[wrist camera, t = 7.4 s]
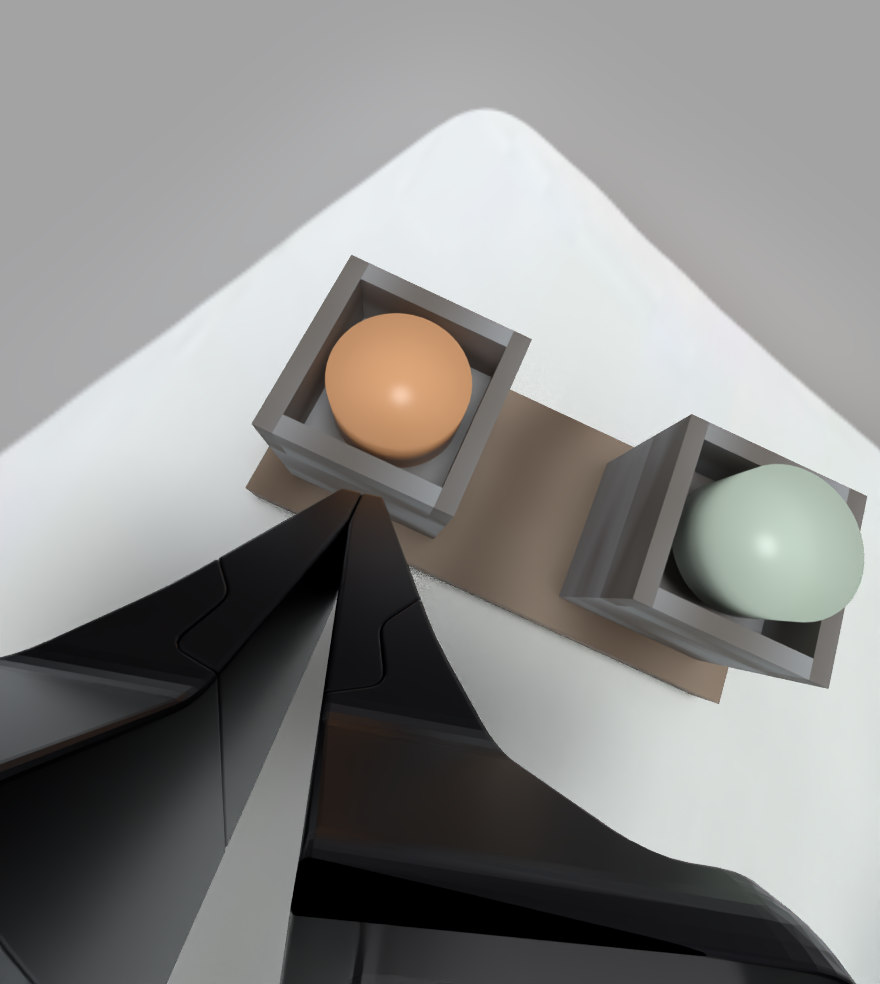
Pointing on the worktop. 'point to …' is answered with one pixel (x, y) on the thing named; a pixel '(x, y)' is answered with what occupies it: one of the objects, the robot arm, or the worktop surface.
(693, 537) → the sage button
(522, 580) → the button board
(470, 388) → the terracotta button
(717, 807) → the worktop surface
